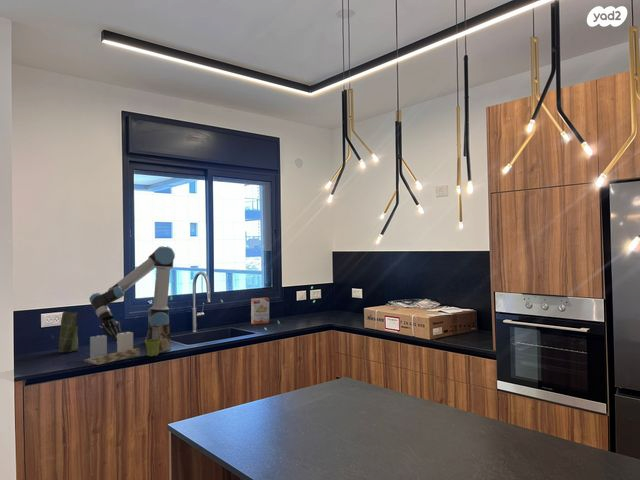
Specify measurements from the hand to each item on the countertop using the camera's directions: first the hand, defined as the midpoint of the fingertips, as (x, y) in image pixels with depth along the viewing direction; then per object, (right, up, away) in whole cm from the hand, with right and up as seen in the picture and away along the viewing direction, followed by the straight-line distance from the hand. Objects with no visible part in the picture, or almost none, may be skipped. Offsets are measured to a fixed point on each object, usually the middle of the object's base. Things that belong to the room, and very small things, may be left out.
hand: (121, 345), depth 276 cm
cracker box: (+69, -7, +107) cm, 127 cm away
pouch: (-37, -7, +11) cm, 39 cm away
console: (-2, -6, -7) cm, 9 cm away
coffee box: (+20, -6, +11) cm, 24 cm away
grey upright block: (-8, -4, -11) cm, 14 cm away
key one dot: (+3, -4, -2) cm, 6 cm away
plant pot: (+19, -6, 0) cm, 20 cm away
